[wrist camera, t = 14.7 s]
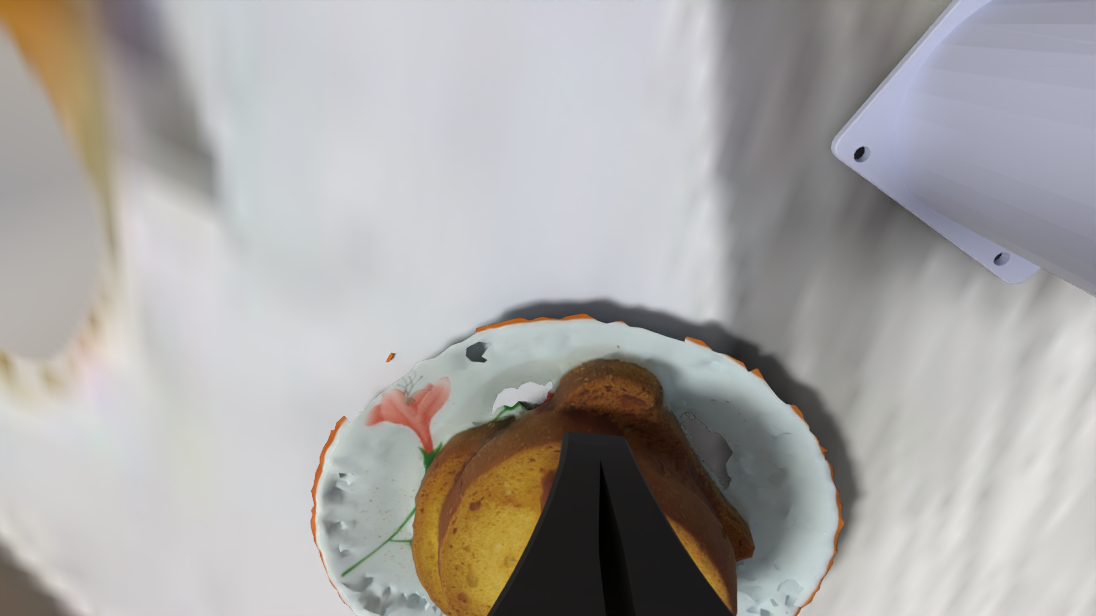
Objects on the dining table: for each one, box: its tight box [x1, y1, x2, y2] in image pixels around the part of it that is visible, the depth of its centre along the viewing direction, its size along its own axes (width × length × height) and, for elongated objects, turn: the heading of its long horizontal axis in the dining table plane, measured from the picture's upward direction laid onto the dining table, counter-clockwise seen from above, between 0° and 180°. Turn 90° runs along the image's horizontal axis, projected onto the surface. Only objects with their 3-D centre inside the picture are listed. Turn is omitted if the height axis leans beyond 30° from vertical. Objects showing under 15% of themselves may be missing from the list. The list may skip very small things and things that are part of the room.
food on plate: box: [311, 313, 845, 616], centre depth 25 cm, size 26×25×7 cm
